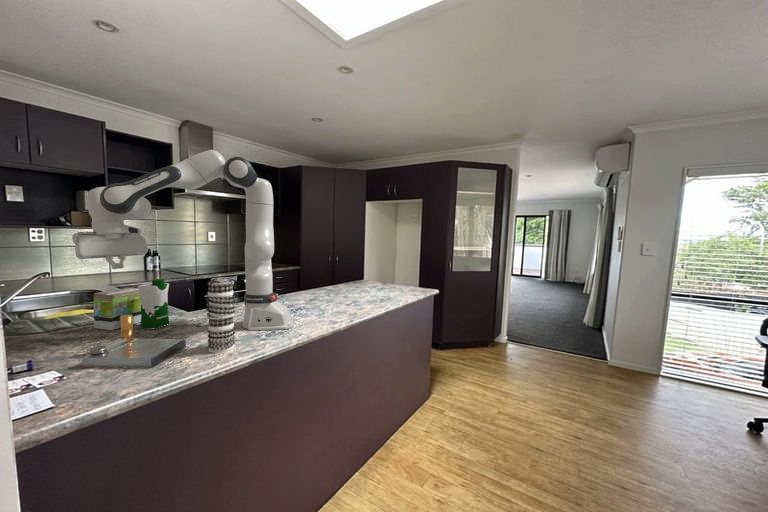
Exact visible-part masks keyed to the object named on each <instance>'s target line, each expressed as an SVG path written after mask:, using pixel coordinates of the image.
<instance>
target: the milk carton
mask: <svg viewBox="0 0 768 512" xmlns="http://www.w3.org/2000/svg"><path fill="white" fill-rule="evenodd" d="M169 287H170V283H167V282H166V283H165V279H163V278H162V279H161V278H157V279H152V280H151V283H146V284H140V285H137V288H138V289H139V292H140V297H141V322H140V329H145V328H155V329H154V330H157V329H156V328H158V327H160V328H162V327H161V326H163V327H165V326H164V325H166V326H168V325H167V324H169V325H170V319H169V318H170V317H169V303H168V301H169V300H168V293H169ZM158 329H159V328H158Z"/></svg>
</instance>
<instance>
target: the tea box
mask: <svg viewBox="0 0 768 512" xmlns="http://www.w3.org/2000/svg"><path fill="white" fill-rule="evenodd" d="M122 315H133V325H134V324H139V323H140V324H141V297H140V292H139V289H138V287H125V288H119V289H114V290H107V291H100V292H99V291H98V292H94V293H93V327H94V329H99V330H107V331H115V330H117V329H121V324H120V316H122Z"/></svg>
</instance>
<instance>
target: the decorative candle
mask: <svg viewBox="0 0 768 512" xmlns="http://www.w3.org/2000/svg"><path fill="white" fill-rule="evenodd" d="M233 283H234V281H233V280H232V279H231V278H229V277H225V276H222V277H219V276H218V277H214V278H211V279H210V281H209V282H207V287H208V289H207V290H208V291H207V295H206V297H205V301H206V302H207V303H206V305H205V306H206V308H205V309H206V311H207V314H206V317H207V318H208V330H207V338H208V339H207V343H208V344H207V347H208V348H207V351H208V352H210V353H214V354H218V353H225V352H228V351H231V350H234V348H235V347H236V345H235V344H236V340H235V339H236V336H235V334H236V331H235V330H236V327H234V326H235V322H234V316H235V313H236V311H235V310H234V309H235V308H236V306H235V305H234V304H235V303H236V301H235V299H236V296H234V290H233V287H234V285H233Z"/></svg>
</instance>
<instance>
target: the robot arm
mask: <svg viewBox="0 0 768 512" xmlns="http://www.w3.org/2000/svg"><path fill="white" fill-rule="evenodd" d="M219 178H221V179H222V180H224V181H225V182H226V183H228V184H229V185H230V186H232V187H234V188H237V189H243V190H244V192H245V244H244V270H245V271H244V272H245V273H244V274H245V293H244V297H243V298H244V299H243V300H244V306H245V307H244V308H245V309H244V315H243V319H242V324H241V327H243V328H244V329H247V330H248V331H250V332H251V331H253V332H255V331H272V330H273V331H275V330H276V331H277V330H279V331H280V330H287V329H290V328H292V327H293V326H295V324H296V323H297V320H296V319H295V317H291V312H290V309H289V308H288V307H287V306H286V305H284V304H283V303H281V302H280V301H278V295H279V294H278V293H275V292H274V291H273V288H274V287H273V285H274V284H273V269H272V264H273V263H272V258H273V256H274V253H275V235H274V233H275V232H274V231H275V230H274V193H273V187H272V184H271V183H270V181H269V180H266V179H264V178H260V177H258V174H257V173H256V170H255V169H254V167H253V166H252V163H251V162H250V161H249V160H247V159H246V158H245V157H244V158H243V157H242V156H232V157H229V159H226V158H225V157H224V156H223V155H222V154H221V153H220V152H218V151H216V150H215V149H209V150H205V151H202V152H199V153H196V154H193V155H191V156H190V157H187V158H185V159H183V160H182V161H179V162H177V163H174V164H171V165H167V166H164V167H162V168H158V169H155V170H153V171H150V172H149V173H145V174H143V175H141V176H138V177H136V178H134V179H130V180H127V181H124V182H116V183H111V184H108V185H107V186H99V187H98V186H97V187H94V188H92V189H90V190H89V191H88V192H87V196H86V204H87V208H88V209H87V210H88V214H89V216H90V218H91V227H92V231H77V232H75V233H74V234H73V235H72V236H71V237H72V242H73V244H74V250H75V251H74V253H75V256H76V258H77V259H79V260H89V259H102V258H105V261H106V262H107V263H108V264H109V265H111V269H112V270H117V269H118V270H119V269H124V268H125V266H124V265H125V264H124V262H125V260H126V257H132V256H133V257H135V256H144V255H146V254H147V253H148V252H149V248H148V243H147V241H146V238H145V237H144V235H142V229H141V228H139V227H134V226H131V225H127V224H125V222H124V221H139V220H144V219H146V218H147V217H148V216H150V214H151V213H152V209H153V208H152V204H151V202H150V201H149V200H148V199H147V198H145V197H146V196H148V195H151V194H154V193H155V192H158V191H160V190H163V189H166V188H178V189H183V190H189V191H192V190H196V189H198V188H201V187H203V186H205V185H206V184H209V183H211V182H212V181H214V180H216V179H219ZM115 257H116V258H117V259H118V260H119V261H118V262H115V261H114V260H113V259H114V258H115Z"/></svg>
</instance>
